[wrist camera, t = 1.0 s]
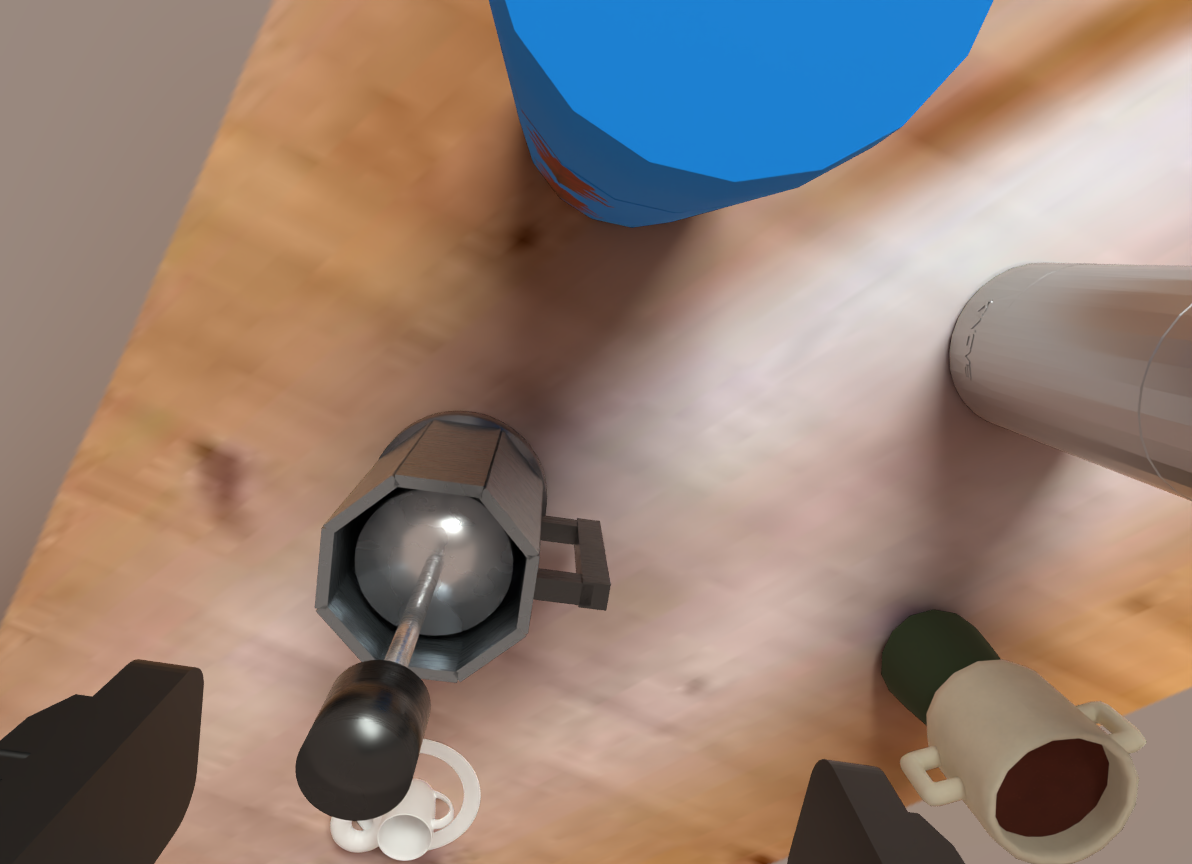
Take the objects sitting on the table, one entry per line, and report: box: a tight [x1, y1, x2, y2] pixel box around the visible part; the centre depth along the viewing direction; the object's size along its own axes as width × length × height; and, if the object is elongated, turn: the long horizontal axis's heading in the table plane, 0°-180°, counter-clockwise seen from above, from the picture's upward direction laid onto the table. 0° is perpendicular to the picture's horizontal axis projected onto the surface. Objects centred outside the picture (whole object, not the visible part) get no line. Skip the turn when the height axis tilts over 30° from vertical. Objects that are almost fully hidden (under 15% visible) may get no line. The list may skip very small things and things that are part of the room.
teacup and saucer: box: [330, 739, 481, 861], centre depth 45 cm, size 9×8×4 cm
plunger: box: [296, 488, 514, 821], centre depth 27 cm, size 7×7×14 cm
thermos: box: [489, 0, 993, 228], centre depth 27 cm, size 11×11×25 cm
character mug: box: [881, 610, 1146, 864], centre depth 40 cm, size 11×7×13 cm, turn 106°
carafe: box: [315, 411, 611, 683], centre depth 37 cm, size 12×10×12 cm
